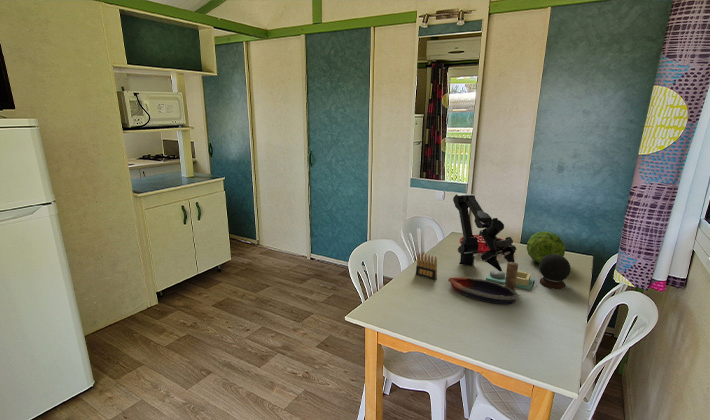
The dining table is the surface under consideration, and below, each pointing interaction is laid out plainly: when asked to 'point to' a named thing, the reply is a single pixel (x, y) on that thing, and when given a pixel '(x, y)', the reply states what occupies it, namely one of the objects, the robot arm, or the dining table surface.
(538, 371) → the dining table surface
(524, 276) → the carrier plate
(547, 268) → the black ball on stand
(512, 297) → the dish
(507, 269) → the walnut dowel
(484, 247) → the bowl
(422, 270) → the ammunition clip
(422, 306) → the dining table surface
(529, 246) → the lettuce
